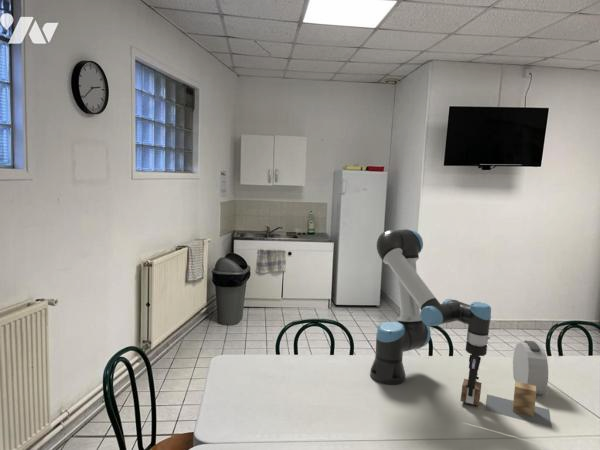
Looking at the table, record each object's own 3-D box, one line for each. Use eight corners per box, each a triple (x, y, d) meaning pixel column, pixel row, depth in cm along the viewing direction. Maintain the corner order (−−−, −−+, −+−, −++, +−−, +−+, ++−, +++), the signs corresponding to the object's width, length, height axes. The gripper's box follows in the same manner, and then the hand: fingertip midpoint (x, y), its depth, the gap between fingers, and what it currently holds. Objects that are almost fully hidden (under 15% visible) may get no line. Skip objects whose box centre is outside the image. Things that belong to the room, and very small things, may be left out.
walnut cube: (460, 400, 165) (462, 385, 164) (462, 393, 171) (464, 378, 170) (478, 405, 162) (480, 389, 161) (479, 398, 168) (481, 382, 167)
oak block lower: (512, 411, 161) (513, 399, 160) (512, 405, 165) (514, 393, 165) (533, 417, 158) (535, 404, 157) (533, 410, 162) (534, 398, 162)
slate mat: (484, 410, 161) (484, 409, 161) (487, 395, 174) (487, 394, 173) (551, 428, 151) (551, 427, 151) (548, 410, 164) (549, 409, 164)
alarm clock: (546, 400, 172) (551, 353, 170) (526, 397, 173) (531, 351, 171) (528, 377, 192) (533, 334, 190) (511, 374, 194) (515, 333, 192)
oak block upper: (513, 399, 160) (515, 386, 160) (514, 393, 165) (515, 381, 164) (535, 404, 157) (536, 391, 157) (534, 398, 162) (535, 385, 161)
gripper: (485, 354, 153) (478, 413, 156) (488, 336, 170) (482, 390, 173) (463, 349, 157) (457, 407, 159) (469, 332, 174) (463, 385, 177)
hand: (470, 398), depth 166 cm, fingers closed on walnut cube, 6 cm apart
